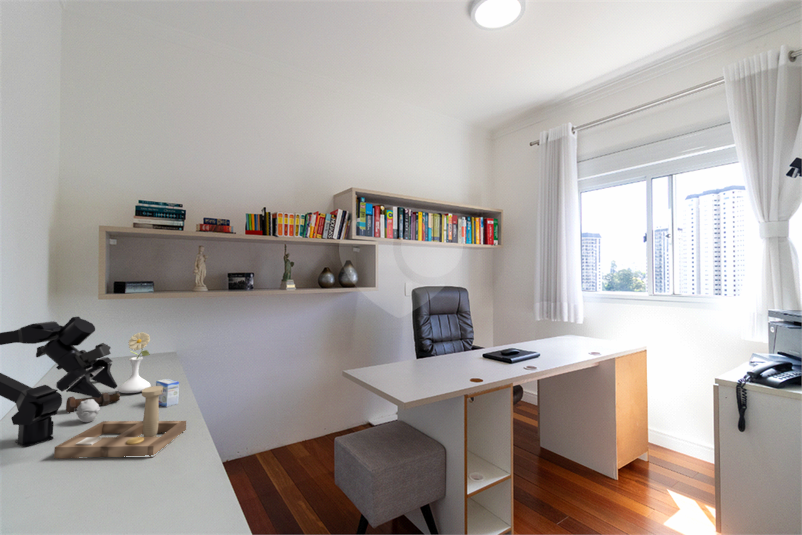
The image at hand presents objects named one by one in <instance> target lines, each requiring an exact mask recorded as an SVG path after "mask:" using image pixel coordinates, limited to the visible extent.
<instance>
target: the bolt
mask: <svg viewBox="0 0 802 535" xmlns="http://www.w3.org/2000/svg"><path fill="white" fill-rule="evenodd" d="M101 394H102V396H101V397H100V398H96V397H92V396H88V397H84V398H75V397H74V396H69V397H67V399H66V402H65V410H66V413H67V412H69V413H68V414H71V413H70V412H73V413H75V410H77V408H78V406H79V405H80V404H81V402H82V401H85V400H88V399H94V401H95V402H96V403H98V405H99V406H102V407H105V406H108V405H109V404H110V403H115V402H119V401H120V400H121V394H120V392H116V393H109V392H101Z"/></svg>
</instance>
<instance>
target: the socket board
mask: <svg viewBox="0 0 802 535" xmlns="http://www.w3.org/2000/svg"><path fill="white" fill-rule="evenodd" d="M185 430H186V431H187V420H159V423H158V431H157V434H162V435H161V436H157V437H143V436H142V435H143V420H115V421H114V420H110V421H109V420H107V421H106V420H103V421H101V422H99V423H97V424H95V425H93V426H92V427H89V428H87V429H86V430H84V431H83V432H81V433H78V434H76V435H73V437H71V438H69V439H67V440H65V441H63V442H61V443H59V444H58V445H56V446H54V450H53V452H54V453H53V459H55V458H56V459H57V460H58V458H59V459H80V458H79V457H124V456H125V457H126V456H145V455H149V456H151V455H154V454H156V453H157V452H158V451H160V450H161V449H162V448H164V447H165V446H166V445H167V444H169V443H170V442H171V441H172V440H173V439H175V438H176V437H177V436H178V435H180V434H181V433H182V432H183V431H185ZM186 431H185V432H186ZM161 432H162V433H161ZM163 432H166V433H163ZM183 433H184V432H183ZM183 433H182V434H183ZM103 434H118V435H117V436H108V437H107V436H105V437H104V436H103V437H102V436H101V435H103ZM141 434H142V435H141ZM182 434H181V435H182ZM140 435H141V436H140ZM181 435H180V436H181ZM100 436H101V437H100ZM138 436H139V437H138ZM177 438H178V437H177ZM177 438H176V439H177ZM176 439H175V440H176ZM172 442H173V441H172ZM172 442H171V443H172ZM171 443H170V444H171ZM170 444H169V445H170ZM166 447H167V446H166ZM166 447H165V448H166ZM165 448H164V449H165ZM160 452H161V451H160Z"/></svg>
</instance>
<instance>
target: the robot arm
mask: <svg viewBox="0 0 802 535" xmlns="http://www.w3.org/2000/svg"><path fill="white" fill-rule="evenodd" d="M94 332H96V327H95V325H94V324H93V323H92V322H89V321H88V320H86V319H83V318H81V317H80V316H72V317H71V318H70V319H69V320H68V321H67V322H66V324H64V325H60V324H59V323H58V322H57V321H55V320H54V321H52V320H51V321H46V322H45V321H44V322H37V323H31V324H28V325H25V326H21V327H20V328H18V329H14V330H10V331H3V332H0V346H3V345H9V344H16V343H20V344H25V345H26V344H30V345H31V344H32V345H33V344H35V345H36V344H41V343H46V344H44V345H41V346H38V347H36V354H35V357H36V358H40V357H42V356H45V355H46V356H47V357H48V358H50V359H51V361H53V362H54V363H55V364H57V366H56V367H55V369H57V370H58V371H59V370H64V371H65V373H66V374H64V375H63V377H61V378H60V379H59V380H58V381H57V382H56V384H55V385H56V388H55V389H54V388H52V387H51V386H49V385H47V384H43V385H42V384H41V385H39V386H35V387H31V386H29V385H27V384H24V383H22V382H20V381H18V380H16V379H14V378H12V377H11V376H8V375H6V374H4V373H2V372H0V397H2V398H4V399H5V400H6V399H7V400H8V401H10V402H13V403H15V405H16V408H17V412H16V413H15V414H13V415H12V416H11V421H12V425H13V426H16V425H17V426H18V431H17V432H18V434H17V439H16V440H14V443H15V444H17V445H19V446H21V447H23V448H26V447H30V446H35V445H37V444H39V443H44V442H47V441H50V440H53V439H54V436H53V434H54V420H52V419H53V418H52V416H55V415H57V414H58V412H59V409H60V408H61V407H62V404H63V398H62V396H63V395H62V394H61V393H60V392H66V393H74V394H78V395H79V394H80V395H84V396H88V397H96V398H100V397H101V396H102V392H101V391H100V390H99V389H98V387H96V385H94V384H93V382H92V381H95V382H96V383H99V384H101V385H104V386H106V387H108V388H111V389H114V390H115V389H116V388H118V384H117V382H116V379H114V377H113V374H112V372H111V367H112V365H113V360H112V359H110V357H109V355H111V354H112V353H111V351H110V350H111V349H112V348H111V346H109V345H108V344H107V343H104V342H102V343H99V344H97V345H95V347H94V349H91V350H88V351H86V350H85V349H81V350H79V349H78V348H76V347H77V346H79V345H82V343H84V341H86V340H87V339H88V338H89V337H91V335H92V334H94ZM107 356H108V357H107ZM90 377H93V378H92V380H91V381H90ZM58 390H59V391H60V392H58Z"/></svg>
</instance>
